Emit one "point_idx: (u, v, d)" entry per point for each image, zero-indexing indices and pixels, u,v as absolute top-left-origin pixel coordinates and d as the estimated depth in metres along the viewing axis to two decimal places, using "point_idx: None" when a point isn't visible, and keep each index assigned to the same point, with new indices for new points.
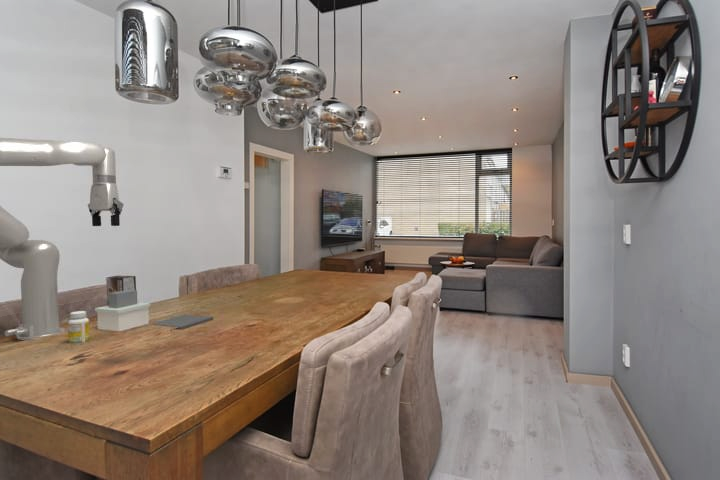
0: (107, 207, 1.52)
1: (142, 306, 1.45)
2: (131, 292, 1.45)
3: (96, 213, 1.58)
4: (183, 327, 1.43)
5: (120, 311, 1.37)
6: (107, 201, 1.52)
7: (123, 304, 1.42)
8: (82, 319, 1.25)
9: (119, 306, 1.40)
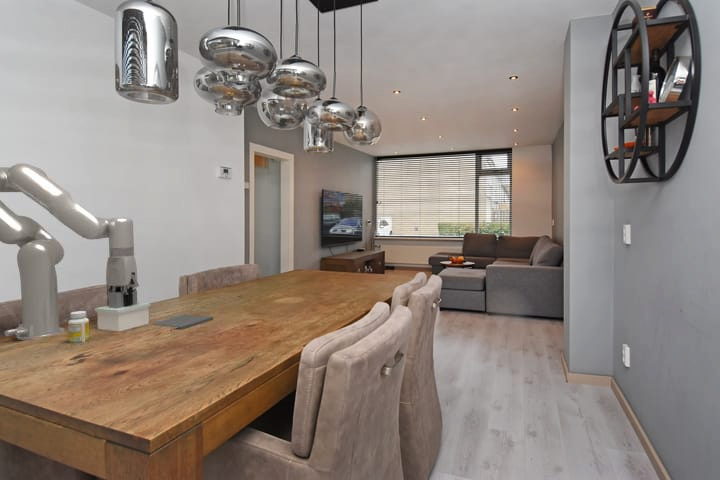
0: (125, 283, 1.40)
1: (142, 306, 1.45)
2: None
3: (117, 290, 1.45)
4: (183, 327, 1.43)
5: (120, 311, 1.37)
6: (125, 277, 1.40)
7: (123, 304, 1.42)
8: (82, 319, 1.25)
9: (119, 306, 1.40)
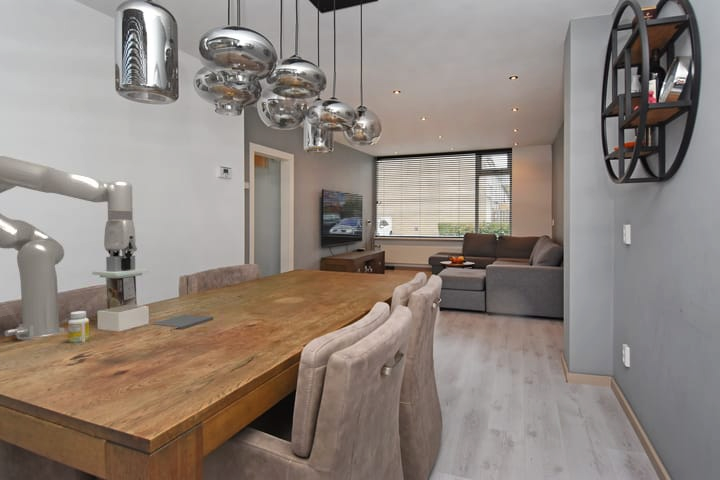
0: (123, 246, 1.39)
1: (140, 271, 1.44)
2: None
3: (115, 254, 1.44)
4: (183, 327, 1.43)
5: (118, 274, 1.36)
6: (123, 240, 1.39)
7: None
8: (82, 319, 1.25)
9: (117, 270, 1.40)
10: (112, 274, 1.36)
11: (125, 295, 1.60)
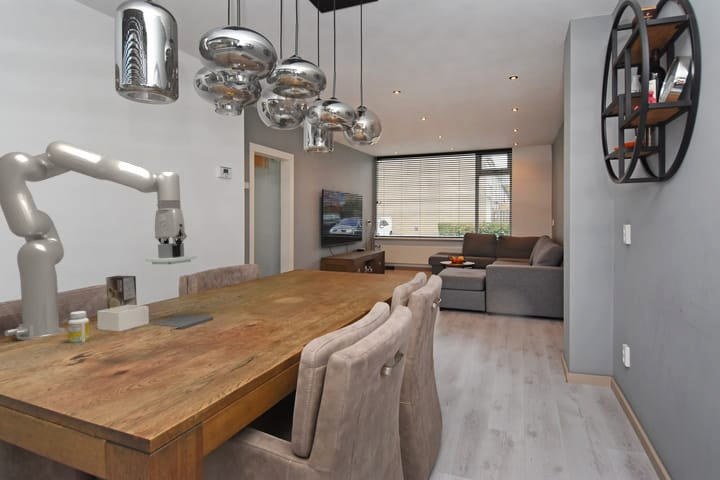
0: (174, 234, 1.45)
1: (189, 258, 1.50)
2: None
3: (165, 242, 1.50)
4: (183, 327, 1.43)
5: (171, 260, 1.42)
6: (174, 228, 1.45)
7: (172, 255, 1.47)
8: (82, 319, 1.25)
9: (169, 256, 1.46)
10: (166, 260, 1.42)
11: (125, 295, 1.60)
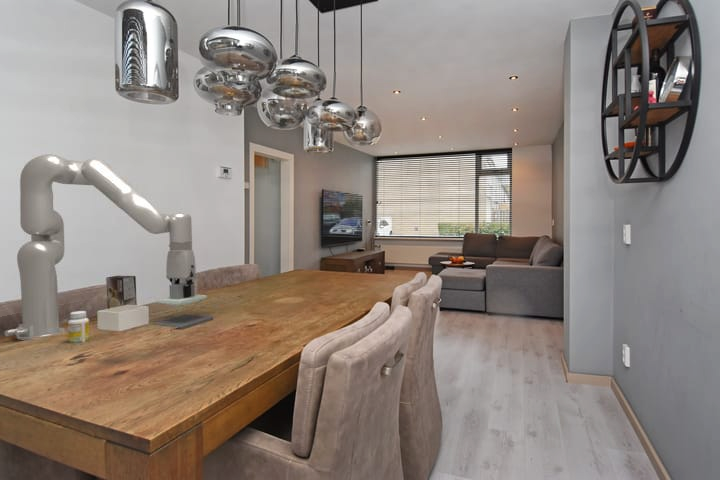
0: (185, 276, 1.47)
1: (200, 298, 1.52)
2: None
3: (176, 282, 1.52)
4: (183, 327, 1.43)
5: (182, 302, 1.44)
6: (185, 269, 1.47)
7: (183, 295, 1.49)
8: (82, 319, 1.25)
9: (180, 297, 1.48)
10: (177, 302, 1.44)
11: (125, 295, 1.60)
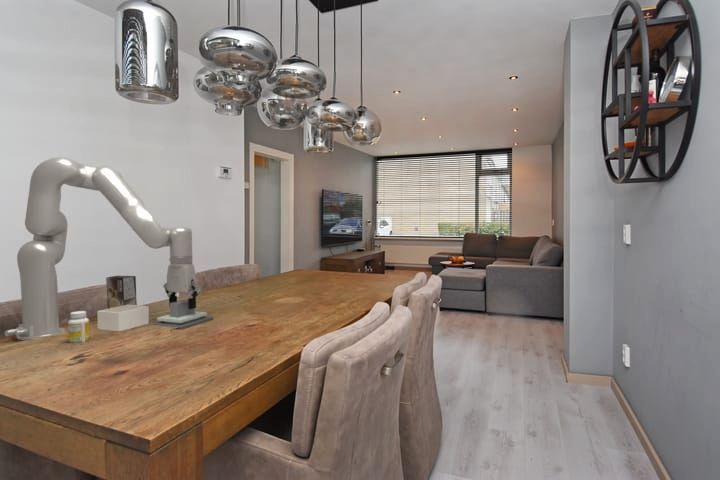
0: (186, 290, 1.47)
1: (200, 315, 1.52)
2: None
3: (172, 293, 1.53)
4: (183, 327, 1.43)
5: (182, 320, 1.44)
6: (186, 284, 1.47)
7: (183, 313, 1.49)
8: (82, 319, 1.25)
9: (180, 315, 1.48)
10: (177, 321, 1.44)
11: (125, 295, 1.60)
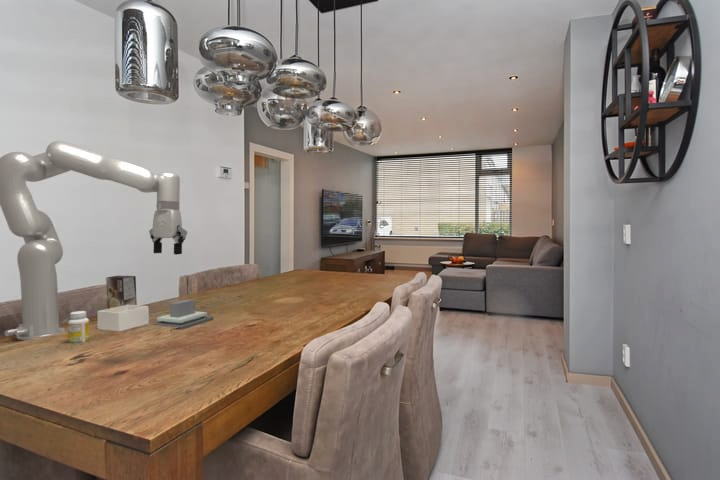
0: (171, 235, 1.46)
1: (200, 315, 1.52)
2: (190, 302, 1.52)
3: (157, 240, 1.52)
4: (183, 327, 1.43)
5: (182, 320, 1.44)
6: (171, 229, 1.46)
7: (183, 313, 1.49)
8: (82, 319, 1.25)
9: (180, 315, 1.48)
10: (177, 321, 1.44)
11: (125, 295, 1.60)
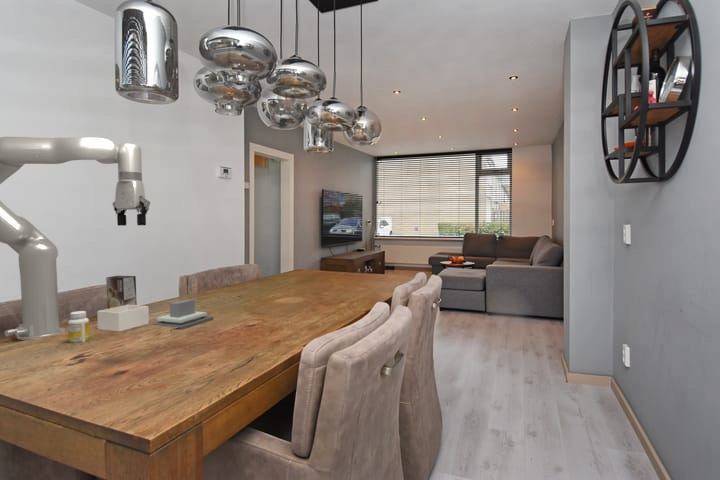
0: (133, 205, 1.45)
1: (200, 315, 1.52)
2: (190, 302, 1.52)
3: (121, 212, 1.51)
4: (183, 327, 1.43)
5: (182, 320, 1.44)
6: (133, 199, 1.45)
7: (183, 313, 1.49)
8: (82, 319, 1.25)
9: (180, 315, 1.48)
10: (177, 321, 1.44)
11: (125, 295, 1.60)
